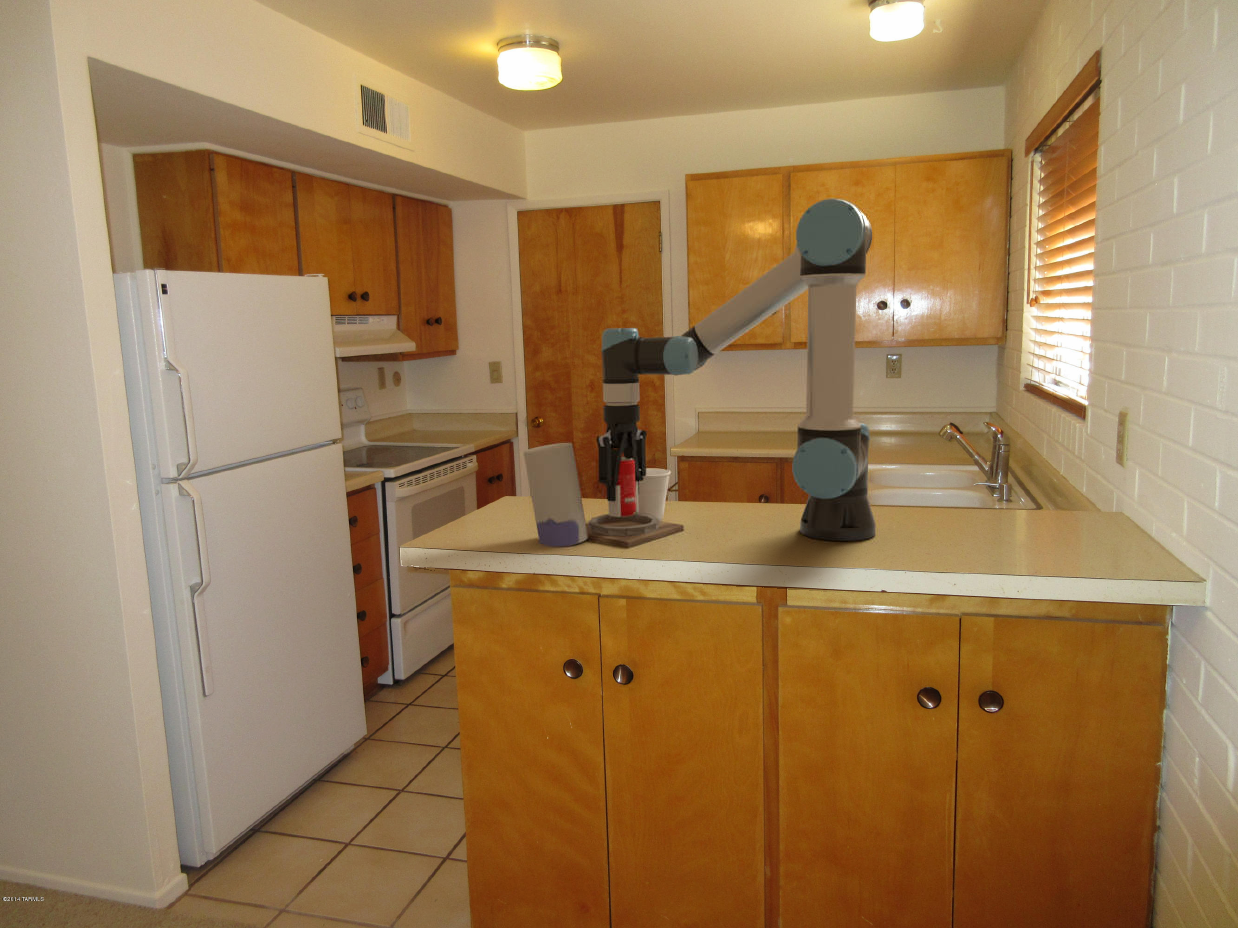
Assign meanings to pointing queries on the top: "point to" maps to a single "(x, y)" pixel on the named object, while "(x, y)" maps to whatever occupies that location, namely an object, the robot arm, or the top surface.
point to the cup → (653, 492)
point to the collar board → (634, 538)
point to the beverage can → (627, 486)
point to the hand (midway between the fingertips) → (623, 513)
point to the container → (556, 495)
